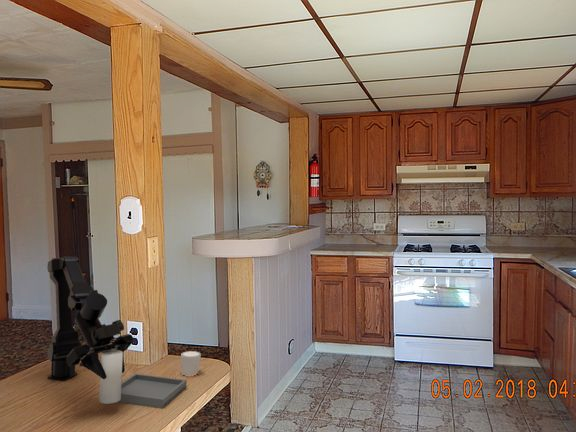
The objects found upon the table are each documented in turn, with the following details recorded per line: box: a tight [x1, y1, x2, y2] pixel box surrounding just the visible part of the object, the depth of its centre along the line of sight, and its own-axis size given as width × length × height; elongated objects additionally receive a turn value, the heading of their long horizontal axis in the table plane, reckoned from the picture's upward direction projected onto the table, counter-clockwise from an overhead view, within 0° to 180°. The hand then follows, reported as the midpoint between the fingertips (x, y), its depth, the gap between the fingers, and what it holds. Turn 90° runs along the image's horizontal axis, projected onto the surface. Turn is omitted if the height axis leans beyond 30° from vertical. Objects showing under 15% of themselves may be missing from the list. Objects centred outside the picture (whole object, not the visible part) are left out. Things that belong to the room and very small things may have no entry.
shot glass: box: [180, 350, 202, 376], centre depth 160 cm, size 7×7×7 cm
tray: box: [117, 373, 187, 409], centre depth 141 cm, size 18×16×2 cm
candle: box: [98, 350, 124, 405], centre depth 128 cm, size 6×6×13 cm
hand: (114, 375), depth 128 cm, fingers closed on candle, 6 cm apart
